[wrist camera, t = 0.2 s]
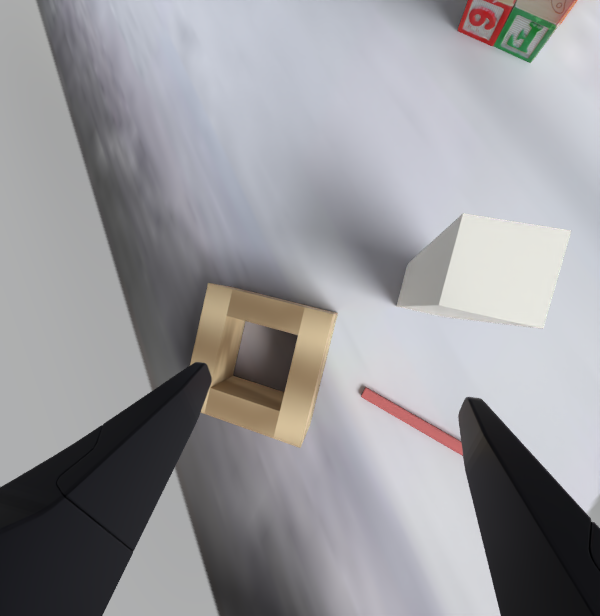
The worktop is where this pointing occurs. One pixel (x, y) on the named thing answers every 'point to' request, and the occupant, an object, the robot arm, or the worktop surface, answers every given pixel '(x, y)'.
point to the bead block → (251, 396)
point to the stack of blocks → (514, 23)
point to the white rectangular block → (487, 272)
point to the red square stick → (413, 420)
